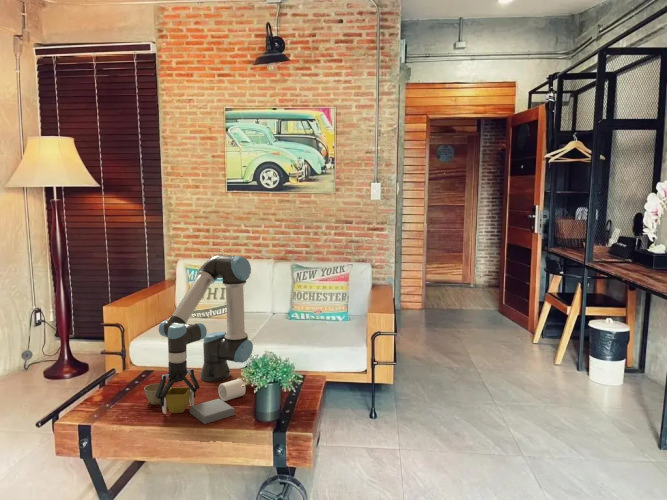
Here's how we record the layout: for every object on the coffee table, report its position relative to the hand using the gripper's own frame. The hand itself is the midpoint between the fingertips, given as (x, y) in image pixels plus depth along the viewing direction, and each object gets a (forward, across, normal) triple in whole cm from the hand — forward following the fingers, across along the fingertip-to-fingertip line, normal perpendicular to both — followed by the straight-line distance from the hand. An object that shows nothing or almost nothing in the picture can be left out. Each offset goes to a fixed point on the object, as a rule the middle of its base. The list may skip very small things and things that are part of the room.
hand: (178, 409), depth 209 cm
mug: (+1, -25, 0) cm, 25 cm away
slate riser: (+1, -10, +12) cm, 16 cm away
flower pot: (+1, 0, 0) cm, 1 cm away
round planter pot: (+1, +4, -15) cm, 16 cm away
